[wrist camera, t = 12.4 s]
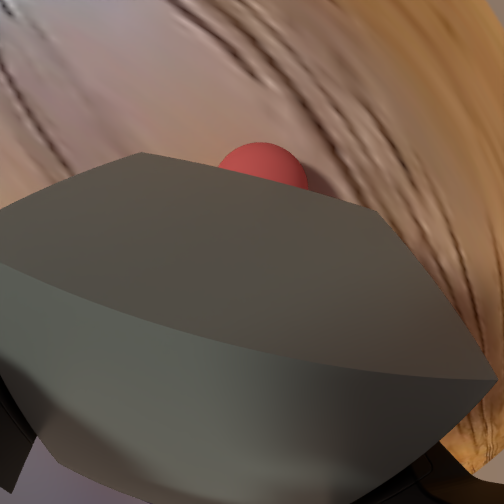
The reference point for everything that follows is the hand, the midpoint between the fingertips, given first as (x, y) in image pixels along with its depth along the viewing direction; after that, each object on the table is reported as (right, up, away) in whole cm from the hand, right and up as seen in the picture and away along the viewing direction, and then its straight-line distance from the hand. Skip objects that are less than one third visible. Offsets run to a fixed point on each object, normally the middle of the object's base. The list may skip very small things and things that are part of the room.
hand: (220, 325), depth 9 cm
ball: (+1, +5, +7) cm, 9 cm away
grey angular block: (0, +1, +2) cm, 2 cm away
